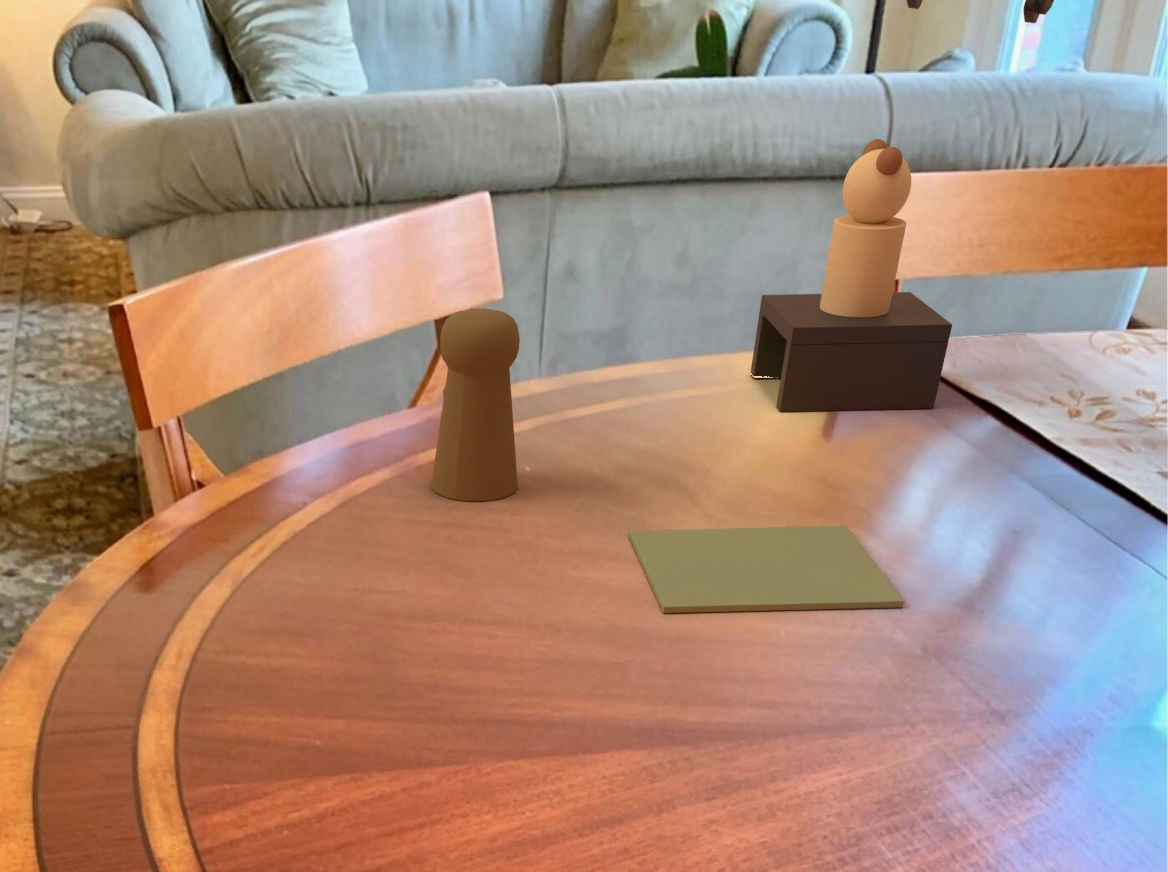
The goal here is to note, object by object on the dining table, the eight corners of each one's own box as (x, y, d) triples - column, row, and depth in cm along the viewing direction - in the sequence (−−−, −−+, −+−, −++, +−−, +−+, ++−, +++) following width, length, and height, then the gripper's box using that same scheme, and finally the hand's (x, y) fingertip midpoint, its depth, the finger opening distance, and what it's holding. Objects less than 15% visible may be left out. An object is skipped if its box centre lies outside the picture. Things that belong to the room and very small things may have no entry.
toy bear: (877, 300, 116) (909, 136, 109) (897, 317, 112) (932, 148, 105) (811, 301, 116) (839, 137, 108) (829, 318, 112) (859, 149, 104)
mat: (844, 531, 94) (846, 525, 94) (902, 607, 85) (904, 600, 85) (628, 536, 94) (628, 530, 94) (663, 613, 85) (663, 606, 85)
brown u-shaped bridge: (894, 371, 121) (910, 291, 118) (933, 408, 114) (952, 324, 110) (749, 374, 121) (761, 294, 117) (779, 412, 114) (793, 327, 110)
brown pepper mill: (473, 465, 105) (479, 295, 98) (536, 486, 102) (547, 311, 94) (412, 485, 102) (414, 312, 95) (475, 507, 98) (481, 329, 91)
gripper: (963, -290, 101) (865, -32, 105) (1180, -283, 95) (1068, -11, 99) (974, -212, 107) (881, 28, 111) (1177, -201, 102) (1072, 51, 105)
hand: (969, 9), depth 105 cm, fingers open, 8 cm apart
